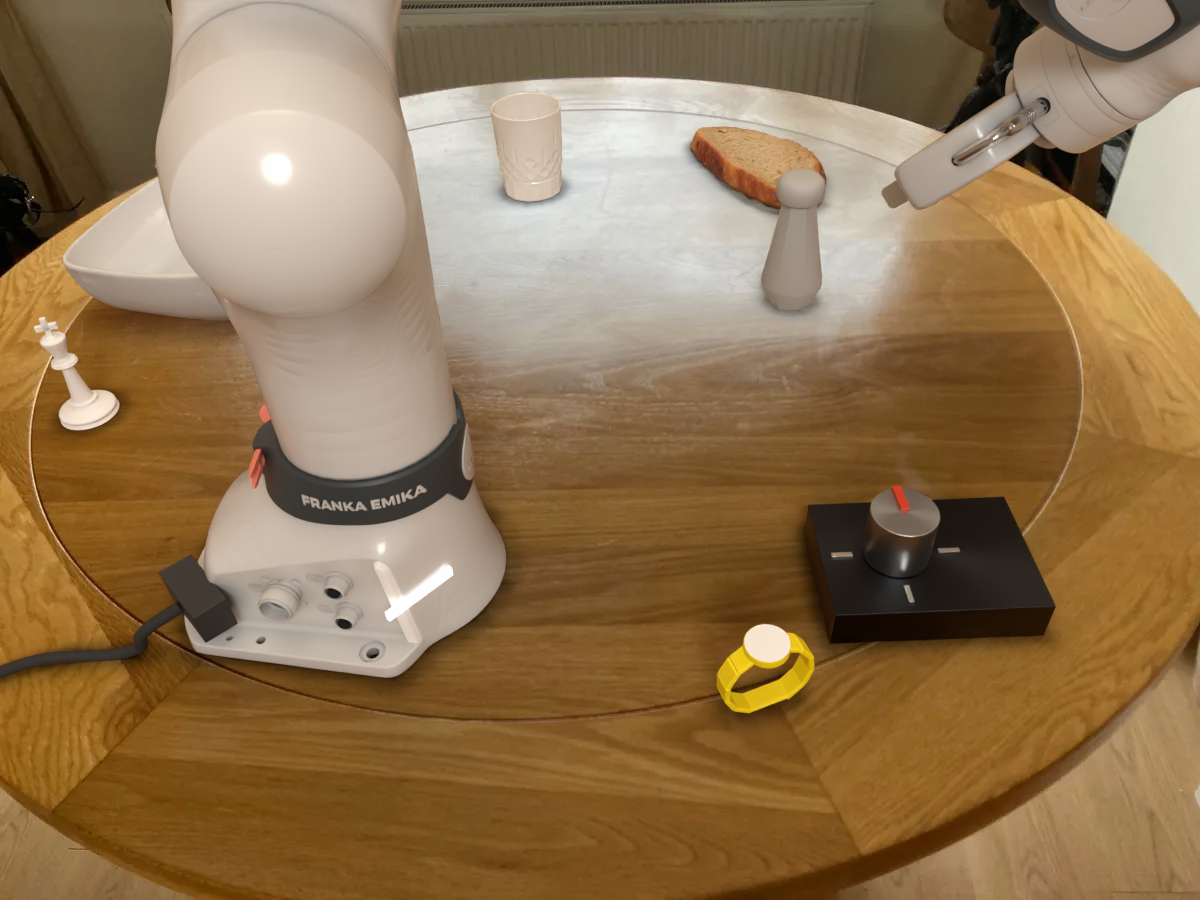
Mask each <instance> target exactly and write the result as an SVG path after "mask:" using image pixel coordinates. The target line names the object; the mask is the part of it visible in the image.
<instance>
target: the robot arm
mask: <svg viewBox="0 0 1200 900" xmlns="http://www.w3.org/2000/svg"><path fill="white" fill-rule="evenodd" d="M1017 1H1018V3H1019V4H1020V6H1021V8H1023V10H1025V12H1026V13H1027V14H1028V15H1029V16H1031V17H1032V18H1033V19H1034V20H1036V22H1039V23H1040V24H1042V25H1043V26H1041V28H1039V29H1037V30H1036V31H1035V32H1033V33H1032V34H1031V35H1029V36H1028V37H1026V38H1024V39H1023V40H1022V41H1021V42H1020V44H1019V45H1018V47H1017V48H1016V51H1015V54H1014V57H1013V68H1012V69H1011V70H1010V71H1009V72H1008V75H1007V76H1006V80H1005V88H1004V96H1002V97H1001V98H999V99H998V100H996V101H994V102H993V103H991V104H990V105H988V106H987V107H985V108H984V109H982V110H981V111H978V113H976V114H974V115H973V116H971V117H970V118H968V119H967V120H965V121H964V122H962V123H961V124H958V125H957V126H956V127H954V128H953V129H951V130H950V131H948V132H946V133H945V134H943V135H942V136H941V137H939V138H937V139H935V140H934V141H933V142H931V143H929V144H928V145H926V146H925V147H924V148H922V149H920V150H919V151H917V152H916V153H914V154H912V155H911V156H910V157H908V158H906V159H905V160H903V161H902V162H900V163H899V164H898V165H897V167H895V169H894V171H893V175H894V178H895V180H894V181H892V182H891V183H889V184H888V185H887V186H884V187H883V188H882V190H881V196H882V197H883V200H884V201H885V203H886V204H887V206H888V207H889V208H890V209H897V208H898V207H900V206H902V205H904V204H906V203H907V202H908V203H909V204H910V205H911V207H912V208H913V209H914V210H916V211H922V210H925V209H928V208H930V207H931V206H934V205H936V204H937V203H939V202H941V201H942V200H944V199H946V198H948V197H950V196H951V195H953V194H955V193H957V192H958V191H960V190H961V189H964V188H965V187H967V186H968V185H970V184H972V183H973V182H975V181H978V180H979V179H980V178H982V177H983V176H984V177H985V175H987V174H989V173H990V172H992V171H994V170H995V169H997V168H998V167H1000V166H1002V165H1003V164H1005V163H1007V162H1008V161H1009V160H1010V159H1012V158H1014V157H1015V156H1016V155H1018V154H1019V153H1020V152H1021V151H1023V150H1025V149H1026V148H1027V147H1029V146H1030V145H1031V144H1035V145H1036V146H1038V147H1039V148H1043V149H1047V150H1050V149H1051V150H1052V149H1055V148H1056V149H1059V150H1061V151H1063V152H1065V153H1070V154H1082V153H1083V154H1084V153H1085V152H1088V151H1089V150H1092V149H1093V148H1095V147H1097V146H1099V145H1101V144H1103V143H1104V142H1106V141H1108V140H1110V139H1112V138H1115V137H1116V136H1118V135H1120V134H1122V133H1124V132H1125V131H1127V130H1129V129H1131V128H1133V127H1135V126H1137V125H1138V124H1141V123H1142V122H1144V121H1147V120H1148V119H1150V118H1152V117H1153V116H1155V115H1157V114H1158V113H1159V112H1161V111H1162V110H1163V109H1164V108H1165V107H1166V106H1167V105H1168V104H1169V103H1171V101H1173V100H1174V99H1176V98H1177V97H1179V96H1180V95H1182V94H1184V93H1186V92H1189V91H1191V90H1193V89H1198V88H1200V0H1017ZM170 3H171V4H170V5H171V17H172V42H171V43H172V44H171V45H172V46H171V57H170V65H169V66H170V67H169V74H168V80H167V89H166V93H165V98H164V103H163V107H162V111H161V116H160V121H159V125H158V130H157V134H156V141H155V152H154V153H155V154H154V155H155V166H156V172H157V179H159V184H160V189H161V193H162V197H163V202H164V206H165V209H166V212H167V216H168V219H169V222H170V225H171V228H172V231H173V234H174V237H175V239H176V242H177V244H178V246H179V248H180V250H181V252H182V254H183V256H184V257H185V259H186V261H187V262H188V264H189V265H190V266H191V268H192V269H193V270H194V271H195V272H196V273H197V275H198V276H199V277H200V278H201V279H202V280H203V281H204V282H205V283H206V284H207V285H209V287H210V288H211V290H212V292H213V293H214V295H215V297H216V298H217V300H218V302H219V303H220V305H221V306H222V308H223V310H224V311H225V313H226V315H227V316H228V318H229V319H230V321H229V322H230V323H231V325H232V326H233V328H234V330H235V332H236V334H237V336H238V337H239V339H240V341H241V344H242V346H243V348H244V350H245V353H246V355H247V358H248V360H249V362H250V365H251V369H252V372H253V373H254V377H255V379H256V382H257V385H258V387H259V390H260V393H261V396H262V399H263V404H262V406H261V407H260V409H259V411H258V416H259V418H260V420H261V421H262V422H263V423H264V424H262V425H261V426H260V427H259V428H258V429H257V430H256V433H255V436H254V437H253V441H252V445H251V446H252V449H253V454H252V455H253V456H252V457H251V460H250V463H249V466H248V469H246V470H245V471H243V472H242V473H240V475H239V476H237V477H236V479H234V480H233V482H232V483H231V485H229V487H228V488H227V490H226V492H225V494H224V495H223V496H222V498H221V500H220V502H219V503H218V506H217V508H216V510H215V512H214V515H213V517H212V519H211V522H210V525H209V528H208V531H207V536H206V540H205V544H204V545H205V546H204V548H203V549H202V551H201V554H200V556H199V558H198V560H196V558H195V557H194V556H193V554H189V555H187V556H185V557H183V558H182V559H180V560H178V561H176V562H174V563H172V564H171V565H169V566H167V567H165V568H163V569H162V570H160V571H158V574H159V576H160V578H161V580H162V582H163V584H164V585H165V586H164V587H166V589H167V591H168V593H169V595H170V597H171V598H172V600H173V603H172V604H171V605H169V606H167V607H166V608H164V609H162V610H161V611H160V612H158V613H157V614H155V615H153V616H152V617H150V618H149V619H147V620H146V621H145V622H144V623H142V625H140V626H139V627H138V629H137V630H136V631H135V633H134V635H133V643H131V644H129V645H126V646H123V647H116V648H107V649H106V648H105V649H71V650H57V651H47V652H42V653H37V654H33V655H28V656H24V657H21V658H18V659H15V660H11V661H10V662H7V663H4V664H1V665H0V680H1V679H4V678H5V677H8V676H12V675H14V674H16V673H20V672H22V671H27V670H30V669H34V668H37V667H42V666H48V665H58V664H72V663H76V664H77V663H89V662H91V663H93V662H104V661H105V662H106V661H122V660H125V659H129V658H133V657H136V656H138V655H141V654H143V653H144V652H145V651H147V649H148V647H149V640H148V639H149V637H150V636H151V635H153V633H154V632H156V631H157V630H158V629H160V628H161V627H163V626H164V625H166V624H167V623H170V621H172V620H174V619H175V618H177V617H178V616H180V615H181V614H184V625H185V631H186V633H187V636H188V639H189V642H190V645H191V647H192V649H193V651H195V652H196V653H199V654H203V655H208V656H216V657H223V658H231V659H239V660H246V661H254V662H261V663H267V664H268V663H269V664H277V665H284V666H291V667H299V668H307V669H314V670H322V671H329V672H338V673H344V674H353V675H358V676H359V675H361V676H367V677H368V676H369V677H375V678H383V679H391V678H396V677H398V676H400V675H402V674H403V673H405V672H406V671H407V670H408V669H410V668H411V667H412V666H413V665H414V664H415V662H417V660H419V658H420V657H421V656H422V655H423V654H424V653H425V652H426V651H427V649H428V648H430V647H431V646H432V645H433V644H435V643H437V642H439V640H442V639H444V638H446V637H448V636H450V635H451V634H453V633H454V632H455V633H456V631H458V630H460V629H461V628H463V627H464V626H466V625H467V624H469V623H470V622H471V621H473V620H474V619H475V618H476V617H477V616H478V615H479V614H481V613H482V612H483V611H484V609H485V608H486V607H487V606H488V605H489V604H490V602H491V601H492V600H493V598H494V597H495V595H496V594H497V592H498V590H499V588H500V586H501V584H502V581H503V579H504V576H505V572H506V566H507V551H506V544H505V542H504V540H503V537H502V535H501V533H500V531H499V529H498V528H497V527H496V525H495V524H494V522H493V520H492V519H491V517H490V516H489V514H488V512H487V510H486V508H485V506H484V503H483V501H482V499H481V496H480V493H479V491H478V488H477V485H476V483H475V480H474V476H475V457H474V450H473V443H472V439H471V438H472V437H471V432H470V426H469V423H467V421H466V416H465V412H464V408H463V404H462V400H461V398H460V396H459V394H458V393H457V391H456V390H455V389H454V388H453V384H452V379H451V372H450V367H449V361H448V357H447V351H446V346H445V340H444V335H443V330H442V323H441V319H440V314H439V308H438V307H439V306H438V302H437V297H436V296H437V295H436V290H435V289H436V288H435V282H434V281H435V280H434V275H433V268H432V262H431V255H430V249H429V248H430V247H429V242H428V236H427V230H426V223H425V218H424V210H423V203H422V199H421V192H420V187H419V181H418V173H417V169H416V164H415V158H414V151H413V146H412V144H411V140H410V137H409V133H408V129H407V125H406V121H405V117H404V114H403V109H402V104H401V100H400V95H399V94H400V93H399V86H398V75H397V74H398V73H397V44H398V36H399V27H400V19H401V13H402V7H403V0H170ZM374 655H375V656H376V657H374V658H372V656H374Z"/></svg>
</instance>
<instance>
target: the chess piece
mask: <svg viewBox="0 0 1200 900" xmlns="http://www.w3.org/2000/svg"><path fill="white" fill-rule="evenodd" d="M38 322H39V324H37V325H34V326H33V329H34V332H35V333H36V334H38V333H45V334H44V335H43V336H41V338H40V339H39V345H40V346H41V347H42V348H43V349H44V350H46V352H48V353H49V354H50V356H52V357H53V358H52V360H51V361H50V367H51V369H52V370H55V371H61V372H62V375H63V377H64V381H65V384H66V386H67V389H68V392H69V395H70V398H69V399H68V400H66V401H65V402H64V403H63V404H62V405H61V407H60V408H59V410H58V418H59V421H60V424H61V425H62V426H63V427H64V428H65V429H67V430H70V431H86V430H87V431H88V430H91V429H94V428H97V427H100V426H102V425H104V424H105V423H107V422H108V421H110V420H112V419H113V418H114V417H115V416H116V415H117V413H118V412H119V410H120V401H119V400H118V398H117V397H116V396H115V394H114V393H113V392H111V391H109V390H105V389H90V388H89V386H88V385H87V384H86V382H85V381H84V379H83V378H82V377H81V375H80V374H79V372H78V371H77V369H76V367H75V365H76V364H78V361H79V357H78V356H77V355H76V354H75V353H72V352H68V344H67V336H66V334H65V333H64V332H62V331H53V330H57V329H59V324H58V322H57V320H55V321H51V322H48V320H47V318H46V316H42V317H39V318H38Z"/></svg>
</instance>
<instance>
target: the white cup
mask: <svg viewBox="0 0 1200 900" xmlns="http://www.w3.org/2000/svg"><path fill="white" fill-rule="evenodd" d="M489 109H490V116H491V122H492V126H493V127H492V129H493V134H494V142H495V147H496V152H497V153H496V154H497V158H498V163H499V167H500V168H499V169H500V172H501V175H502V181H503V182H502V183H503V188H504V191H505V193H506V195H507V196H508V197H509V198H512V199H513V200H515V201H521V202H527V203H529V202H531V203H532V202H540V201H545V200H548V199H551V198H553V197H554V196H556V195H558V194H559V193H560V191H561V189H562V187H563V177H562V175H563V174H562V165H563V155H562V153H563V136H562V133H563V132H562V130H563V129H562V102H561V101H560V99H558V98H557V97H555V96H553V95H551V94H548V93H544V92H543V93H542V92H518V93H514V94H509V95H506V96H503V97H501V98H498V99H497V100H496V101H494V102H493V103H492V104H491V105H490V108H489Z"/></svg>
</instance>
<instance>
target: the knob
mask: <svg viewBox="0 0 1200 900" xmlns="http://www.w3.org/2000/svg"><path fill="white" fill-rule="evenodd" d="M870 502H871V505H870V510H869V514H868V519H867V524H866V529H865V534H864V539H863V544H862V553H863V556H864V558H865V560H866V561H867V563H868V564H869V565H870V566H871V567H872V568H874V569H875V570H877V571H878V572H880V573H882V574H885V575H888V576H891V577H899V578H905V577H911V576H914V575H917V574H919V573H920V572H922V571H923V570H924V569H925V568H926V566H927V565H928V562H929V559H930V555H931V552H932V548H933V544H934V541H935V537H936V534H937V530H938V526H939V523H940V512H939V510H938V508H937V506H936V505H935V503H934V502H933V501H932V498H931V499H930V498H929V497H928V496H927V495H926V494H923V493H921V492H919V491H916V490H913V489H909V488H902V486H901V485H900V484H897V485H892V486H891V488H889V489H886V490H882V491H881V492H879V493H878V494H876V495H875V497H873V498H872V500H871V501H870Z"/></svg>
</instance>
